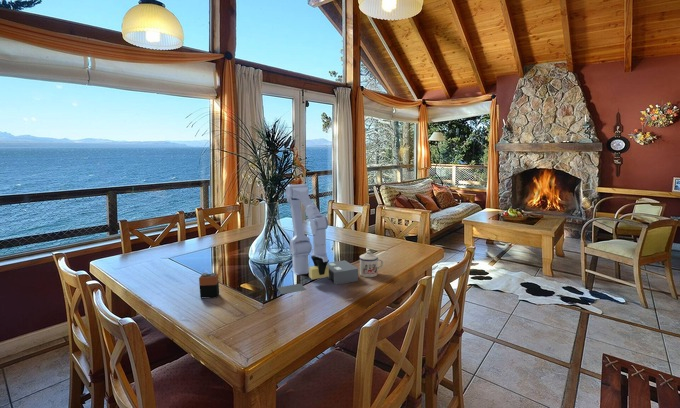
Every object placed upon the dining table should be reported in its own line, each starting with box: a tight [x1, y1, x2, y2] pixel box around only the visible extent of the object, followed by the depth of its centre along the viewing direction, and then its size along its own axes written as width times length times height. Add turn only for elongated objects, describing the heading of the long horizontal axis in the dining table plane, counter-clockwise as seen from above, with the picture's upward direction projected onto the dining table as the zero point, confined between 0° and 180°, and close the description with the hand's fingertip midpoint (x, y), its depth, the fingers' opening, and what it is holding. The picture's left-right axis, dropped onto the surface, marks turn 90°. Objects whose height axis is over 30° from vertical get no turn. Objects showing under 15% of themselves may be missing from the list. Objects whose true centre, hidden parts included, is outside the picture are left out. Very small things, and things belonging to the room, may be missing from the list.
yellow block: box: [308, 265, 329, 280], centre depth 155 cm, size 4×8×4 cm, turn 115°
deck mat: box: [276, 283, 307, 295], centre depth 151 cm, size 8×11×1 cm
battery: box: [198, 272, 220, 298], centre depth 144 cm, size 4×7×10 cm, turn 96°
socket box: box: [327, 259, 359, 285], centre depth 164 cm, size 14×12×6 cm
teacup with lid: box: [358, 250, 384, 278], centre depth 168 cm, size 12×9×12 cm
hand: (320, 272), depth 156 cm, fingers closed on yellow block, 4 cm apart
